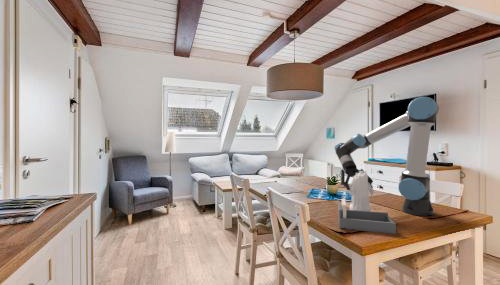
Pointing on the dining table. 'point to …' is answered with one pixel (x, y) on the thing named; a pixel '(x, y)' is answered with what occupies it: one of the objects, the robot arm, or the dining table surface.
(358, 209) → the decorative vase
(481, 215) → the dining table surface
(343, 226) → the grey tray
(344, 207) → the plate
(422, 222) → the dining table surface
